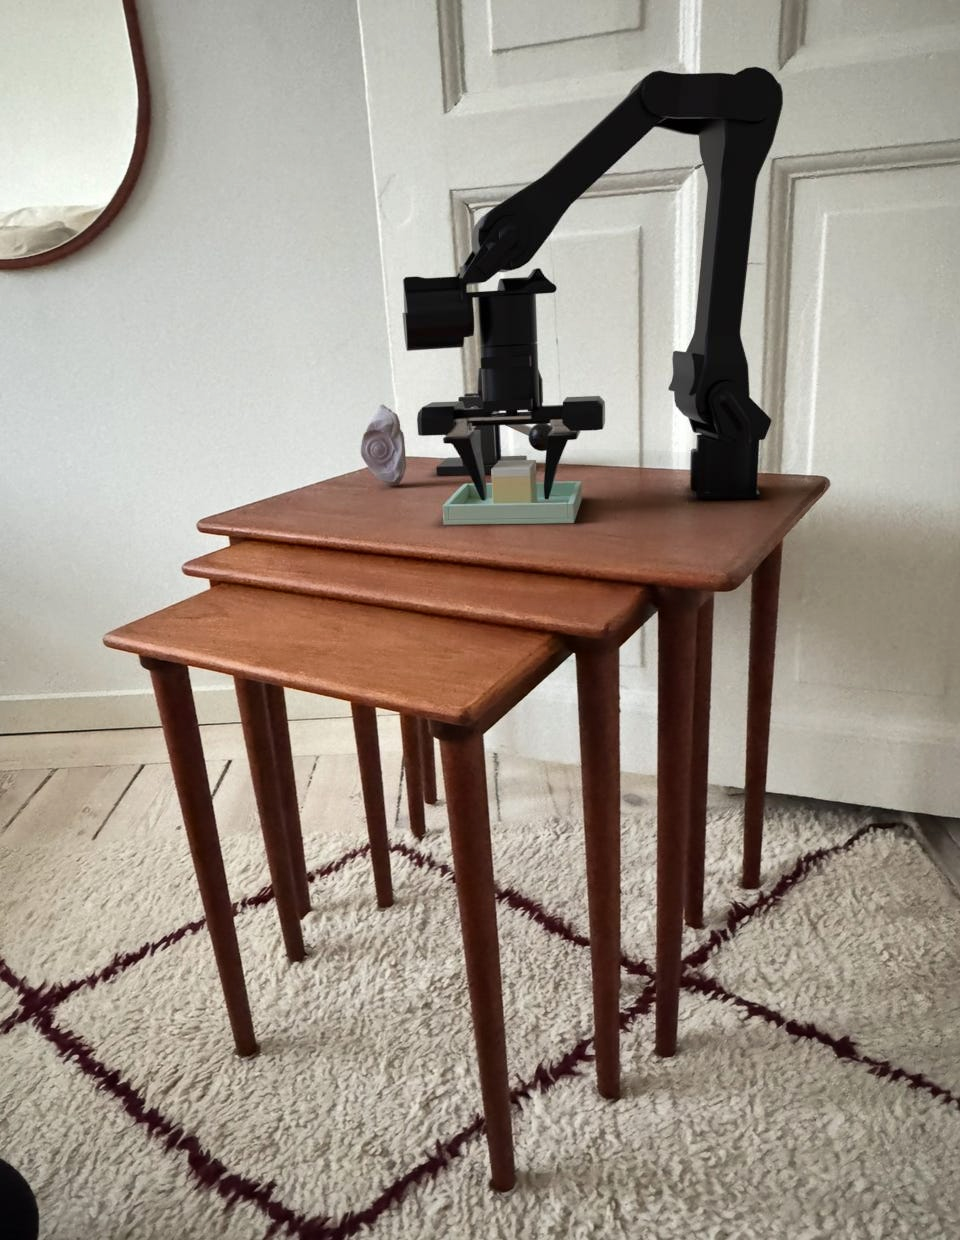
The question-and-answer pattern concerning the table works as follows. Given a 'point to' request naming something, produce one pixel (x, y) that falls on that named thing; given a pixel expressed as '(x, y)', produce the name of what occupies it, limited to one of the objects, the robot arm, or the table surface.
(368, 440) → the fossil
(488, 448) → the black lever stand
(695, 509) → the table surface
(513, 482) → the cake slice
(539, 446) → the lever
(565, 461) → the table surface
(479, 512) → the tray
